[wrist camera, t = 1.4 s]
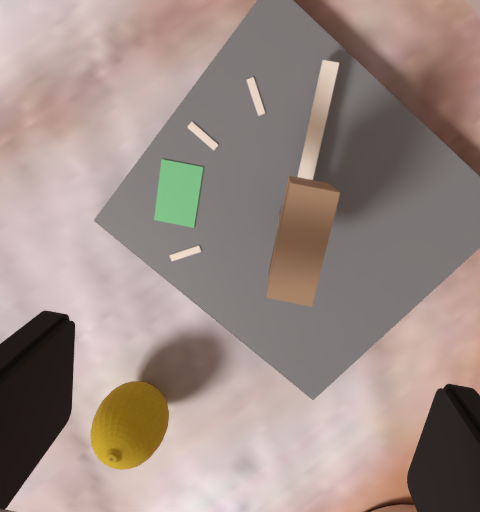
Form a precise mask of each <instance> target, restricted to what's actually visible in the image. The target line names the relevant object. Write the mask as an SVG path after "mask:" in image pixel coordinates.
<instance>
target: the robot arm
mask: <svg viewBox="0 0 480 512" xmlns="http://www.w3.org/2000/svg"><path fill="white" fill-rule="evenodd" d="M74 340H75V324H74V322H73V321H69V316H68V315H67V314H62V313H56V312H51V311H43V312H41V313H40V314H39V315H37V316H36V317H35V318H33V319H32V320H31V321H29V322H28V323H27V324H26V325H24V326H23V327H22V328H20V329H19V330H18V331H16V332H15V333H14V334H13V335H11V336H10V337H9V338H7V339H6V340H5V341H4V342H2V343H1V344H0V512H15V511H9V510H5V509H6V508H7V506H8V505H9V503H10V502H11V501H12V499H13V498H14V496H15V495H16V494H17V492H18V491H19V489H20V488H21V487H22V485H23V484H24V482H25V481H26V480H27V478H28V477H29V475H30V474H31V473H32V471H33V470H34V468H35V467H36V466H37V464H38V463H39V461H40V460H41V459H42V457H43V456H44V454H45V453H46V452H47V450H48V449H49V447H50V446H51V445H52V443H53V442H54V440H55V439H56V438H57V436H58V435H59V433H60V432H61V431H62V429H63V428H64V426H65V425H66V423H67V422H68V420H69V417H70V414H71V409H72V389H73V364H74ZM407 483H408V488H409V491H410V494H411V497H412V500H413V502H414V505H393V506H387V507H383V508H379V509H376V510H373V511H371V512H480V396H479V394H478V393H477V392H476V391H475V390H474V389H473V388H469V387H463V386H458V385H452V384H447V385H446V386H445V387H444V389H442V388H440V389H438V390H437V392H436V394H435V397H434V400H433V402H432V405H431V408H430V411H429V414H428V417H427V420H426V422H425V425H424V428H423V431H422V434H421V437H420V440H419V442H418V445H417V448H416V451H415V454H414V457H413V460H412V462H411V465H410V468H409V471H408V476H407Z"/></svg>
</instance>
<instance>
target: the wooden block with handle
mask: <svg viewBox="0 0 480 512" xmlns="http://www.w3.org/2000/svg"><path fill="white" fill-rule="evenodd" d="M338 67H339V63H338V62H332V61H326V60H323V61H322V64H321V69H320V73H319V78H318V83H317V87H316V92H315V96H314V101H313V106H312V110H311V115H310V120H309V124H308V129H307V134H306V138H305V143H304V147H303V152H302V157H301V161H300V166H299V171H298V175H297V177H294V176H288V181H287V186H286V190H285V195H284V200H283V205H282V208H281V209H280V211H279V215H278V228H277V233H276V238H275V243H274V247H273V252H272V257H271V262H270V266H269V274H268V285H267V296H266V298H270V299H275V300H280V301H285V302H290V303H295V304H300V305H305V306H310V307H312V305H313V301H314V297H315V293H316V288H317V284H318V280H319V276H320V272H321V268H322V264H323V260H324V256H325V252H326V248H327V244H328V240H329V236H330V232H331V228H332V224H333V220H334V216H335V212H336V208H337V203H338V199H339V195H340V192H339V191H338V190H336V189H335V188H334V187H333V186H331V185H330V184H329V183H326V182H320V181H315V180H313V177H314V172H315V168H316V164H317V159H318V155H319V150H320V146H321V142H322V137H323V133H324V128H325V124H326V120H327V115H328V111H329V106H330V102H331V97H332V93H333V89H334V84H335V80H336V75H337V71H338Z"/></svg>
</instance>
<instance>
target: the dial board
mask: <svg viewBox="0 0 480 512" xmlns="http://www.w3.org/2000/svg"><path fill="white" fill-rule="evenodd" d="M323 60H326V61H332V62H338V63H339V67H338V71H337V75H336V80H335V84H334V89H333V93H332V97H331V102H330V106H329V111H328V115H327V120H326V124H325V128H324V133H323V137H322V142H321V146H320V150H319V155H318V159H317V164H316V168H315V172H314V177H313V180H315V181H320V182H326V183H329V184H330V185H331V186H333V187H334V188H335V189H336V190H338V191H339V192H340V195H339V199H338V203H337V208H336V212H335V216H334V220H333V224H332V228H331V232H330V236H329V240H328V244H327V248H326V252H325V256H324V260H323V264H322V268H321V272H320V276H319V280H318V284H317V288H316V293H315V297H314V301H313V305H312V307H310V306H305V305H300V304H295V303H290V302H285V301H280V300H275V299H270V298H266V296H267V285H268V274H269V266H270V262H271V257H272V252H273V247H274V243H275V238H276V233H277V228H278V215H279V211H280V209H281V208H282V205H283V200H284V195H285V190H286V186H287V181H288V176H294V177H297V175H298V171H299V166H300V161H301V157H302V152H303V147H304V143H305V138H306V134H307V129H308V124H309V120H310V115H311V110H312V106H313V101H314V96H315V92H316V87H317V83H318V78H319V73H320V69H321V64H322V61H323ZM94 221H95V222H96V223H97V224H99V225H100V226H101V227H102V228H103V229H105V230H106V231H107V232H108V233H110V234H111V235H112V236H113V237H114V238H116V239H117V240H118V241H119V242H121V243H122V244H123V245H124V246H125V247H127V248H128V249H129V250H130V251H132V252H133V253H134V254H135V255H136V256H138V257H139V258H140V259H141V260H143V261H144V262H145V263H146V264H147V265H149V266H150V267H151V268H152V269H154V270H155V271H156V272H157V273H158V274H160V275H161V276H162V277H163V278H165V279H166V280H167V281H168V282H169V283H171V284H172V285H173V286H174V287H176V288H177V289H178V290H179V291H180V292H182V293H183V294H184V295H185V296H187V297H188V298H189V299H190V300H191V301H193V302H194V303H195V304H196V305H198V306H199V307H200V308H201V309H202V310H204V311H205V312H206V313H207V314H209V315H210V316H211V317H212V318H213V319H215V320H216V321H217V322H218V323H219V324H221V325H222V326H223V327H224V328H226V329H227V330H228V331H229V332H230V333H232V334H233V335H234V336H235V337H237V338H238V339H239V340H240V341H241V342H243V343H244V344H245V345H246V346H248V347H249V348H250V349H251V350H252V351H254V352H255V353H256V354H257V355H259V356H260V357H261V358H262V359H263V360H265V361H266V362H267V363H268V364H270V365H271V366H272V367H273V368H274V369H276V370H277V371H278V372H279V373H281V374H282V375H283V376H284V377H285V378H287V379H288V380H289V381H290V382H292V383H293V384H294V385H295V386H296V387H298V388H299V389H300V390H301V391H303V392H304V393H305V394H306V395H307V396H309V397H310V398H311V399H312V400H314V399H315V398H316V397H317V396H318V395H319V394H320V393H322V392H323V391H324V390H325V389H326V388H327V387H328V386H329V385H330V384H331V383H332V382H334V381H335V380H336V379H337V378H338V377H339V376H340V375H341V374H342V373H343V372H344V371H346V370H347V369H348V368H349V367H350V366H351V365H352V364H353V363H354V362H355V361H356V360H358V359H359V358H360V357H361V356H362V355H363V354H364V353H365V352H366V351H367V350H369V349H370V348H371V347H372V346H373V345H374V344H375V343H376V342H377V341H378V340H379V339H381V338H382V337H383V336H384V335H385V334H386V333H387V332H388V331H389V330H390V329H391V328H393V327H394V326H395V325H396V324H397V323H398V322H399V321H400V320H401V319H402V318H403V317H405V316H406V315H407V314H408V313H409V312H410V311H411V310H412V309H413V308H414V307H415V306H417V305H418V304H419V303H420V302H421V301H422V300H423V299H424V298H425V297H426V296H428V295H429V294H430V293H431V292H432V291H433V290H434V289H435V288H436V287H437V286H438V285H440V284H441V283H442V282H443V281H444V280H445V279H446V278H447V277H448V276H449V275H450V274H452V273H453V272H454V271H455V270H456V269H457V268H458V267H459V266H460V265H461V264H462V263H464V262H465V261H466V260H467V259H468V258H469V257H470V256H471V255H472V254H473V253H474V252H476V251H477V250H478V249H479V248H480V176H479V175H478V174H477V173H475V172H474V171H473V170H472V169H471V168H470V167H469V166H468V165H467V164H466V163H465V162H464V161H463V160H462V159H461V158H460V157H459V156H457V155H456V154H455V153H454V152H453V151H452V150H451V149H450V148H449V147H448V146H447V145H446V144H445V143H444V142H443V141H442V140H441V139H439V138H438V137H437V136H436V135H435V134H434V133H433V132H432V131H431V130H430V129H429V128H428V127H427V126H426V125H425V124H424V123H423V122H421V121H420V120H419V119H418V118H417V117H416V116H415V115H414V114H413V113H412V112H411V111H410V110H409V109H408V108H407V107H406V106H405V105H403V104H402V103H401V102H400V101H399V100H398V99H397V98H396V97H395V96H394V95H393V94H392V93H391V92H390V91H389V90H388V89H387V88H385V87H384V86H383V85H382V84H381V83H380V82H379V81H378V80H377V79H376V78H375V77H374V76H373V75H372V74H371V73H370V72H369V71H367V70H366V69H365V68H364V67H363V66H362V65H361V64H360V63H359V62H358V61H357V60H356V59H355V58H354V57H353V56H352V55H351V54H349V53H348V52H347V51H346V50H345V49H344V48H343V47H342V46H341V45H340V44H339V43H338V42H337V41H336V40H335V39H334V38H333V37H331V36H330V35H329V34H328V33H327V32H326V31H325V30H324V29H323V28H322V27H321V26H320V25H319V24H318V23H317V22H316V21H315V20H313V19H312V18H311V17H310V16H309V15H308V14H307V13H306V12H305V11H304V10H303V9H302V8H301V7H300V6H299V5H298V4H297V3H295V2H294V1H293V0H257V2H256V3H255V4H254V6H253V7H252V8H251V10H250V11H249V13H248V14H247V15H246V17H245V18H244V19H243V21H242V22H241V23H240V25H239V26H238V27H237V29H236V30H235V31H234V33H233V34H232V35H231V37H230V38H229V39H228V41H227V42H226V43H225V45H224V46H223V47H222V49H221V50H220V51H219V53H218V54H217V56H216V57H215V58H214V60H213V61H212V62H211V64H210V65H209V66H208V68H207V69H206V70H205V72H204V73H203V74H202V76H201V77H200V78H199V80H198V81H197V82H196V84H195V85H194V86H193V88H192V89H191V90H190V92H189V93H188V94H187V96H186V97H185V99H184V100H183V101H182V103H181V104H180V105H179V107H178V108H177V109H176V111H175V112H174V113H173V115H172V116H171V117H170V119H169V120H168V121H167V123H166V124H165V125H164V127H163V128H162V129H161V131H160V132H159V133H158V135H157V136H156V137H155V139H154V140H153V142H152V143H151V144H150V146H149V147H148V148H147V150H146V151H145V152H144V154H143V155H142V156H141V158H140V159H139V160H138V162H137V163H136V164H135V166H134V167H133V168H132V170H131V171H130V172H129V174H128V175H127V176H126V178H125V179H124V180H123V182H122V183H121V185H120V186H119V187H118V189H117V190H116V191H115V193H114V194H113V195H112V197H111V198H110V199H109V201H108V202H107V203H106V205H105V206H104V207H103V209H102V210H101V211H100V213H99V214H98V215H97V217H96V218H95V219H94Z"/></svg>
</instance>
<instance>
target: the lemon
mask: <svg viewBox="0 0 480 512" xmlns="http://www.w3.org/2000/svg"><path fill="white" fill-rule="evenodd" d="M168 419H169V410H168V406H167V402H166V400H165V398H164V396H163V394H162V393H161V392H160V391H159V390H158V389H157V388H156V387H154V386H153V385H151V384H149V383H145V382H141V381H135V382H129V383H125V384H123V385H121V386H119V387H117V388H116V389H114V390H113V391H112V392H111V393H110V394H109V395H108V396H107V397H106V398H105V399H104V400H103V402H102V403H101V405H100V406H99V408H98V410H97V412H96V414H95V417H94V420H93V423H92V429H91V443H92V447H93V450H94V452H95V454H96V456H97V457H98V458H99V460H101V461H102V462H103V463H104V464H106V465H108V466H109V467H112V468H115V469H130V468H133V467H136V466H139V465H140V464H142V463H143V462H145V461H146V460H147V459H149V458H150V457H151V455H152V454H153V453H154V452H155V451H156V449H157V448H158V447H159V445H160V444H161V442H162V440H163V438H164V435H165V433H166V430H167V427H168Z"/></svg>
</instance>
